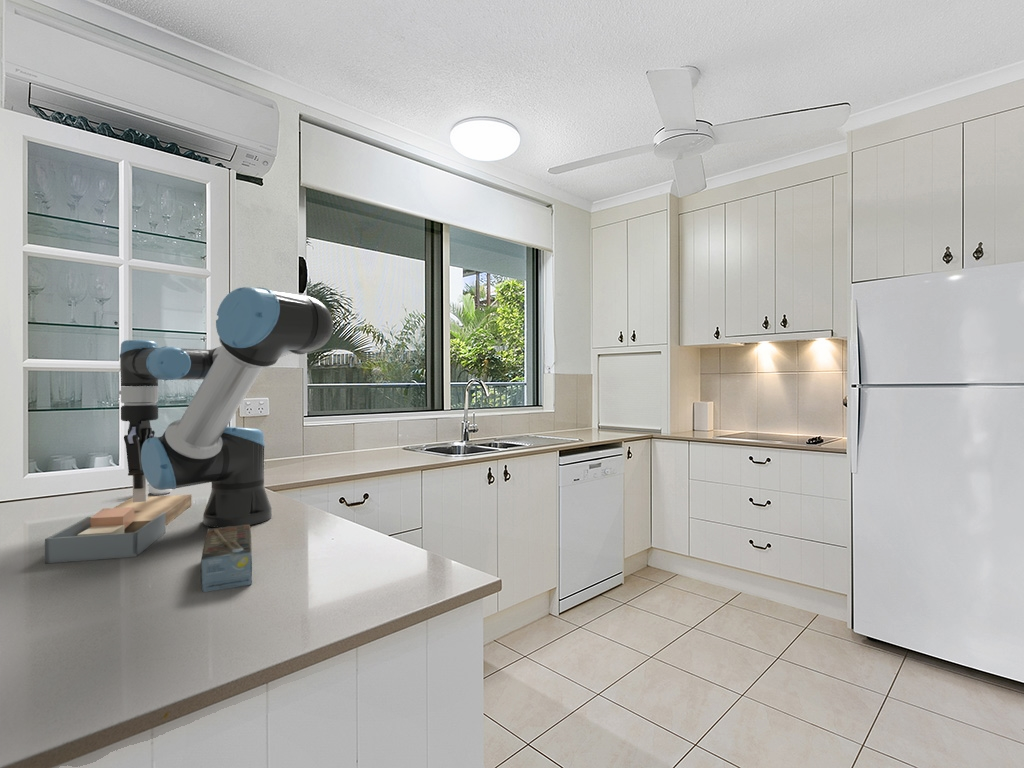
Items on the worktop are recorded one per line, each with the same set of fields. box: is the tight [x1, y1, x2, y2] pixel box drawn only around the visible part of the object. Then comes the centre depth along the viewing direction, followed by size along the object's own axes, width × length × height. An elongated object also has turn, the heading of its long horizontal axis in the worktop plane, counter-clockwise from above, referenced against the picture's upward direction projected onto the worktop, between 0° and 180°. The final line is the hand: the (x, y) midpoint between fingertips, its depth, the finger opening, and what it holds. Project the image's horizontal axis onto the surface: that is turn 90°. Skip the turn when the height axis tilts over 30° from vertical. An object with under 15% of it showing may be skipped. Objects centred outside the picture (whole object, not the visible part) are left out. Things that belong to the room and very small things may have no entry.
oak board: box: [113, 494, 192, 533], centre depth 134 cm, size 14×28×3 cm, turn 16°
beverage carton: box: [200, 524, 253, 593], centre depth 99 cm, size 8×19×7 cm, turn 26°
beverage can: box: [148, 483, 173, 496], centre depth 165 cm, size 6×6×12 cm
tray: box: [44, 513, 166, 564], centre depth 113 cm, size 15×17×5 cm
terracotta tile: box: [90, 507, 135, 529], centre depth 119 cm, size 6×6×3 cm
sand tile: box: [77, 525, 124, 536], centre depth 113 cm, size 6×6×3 cm
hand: (140, 501), depth 132 cm, fingers closed
